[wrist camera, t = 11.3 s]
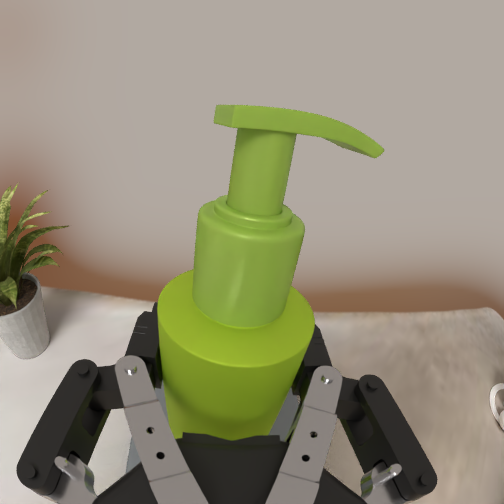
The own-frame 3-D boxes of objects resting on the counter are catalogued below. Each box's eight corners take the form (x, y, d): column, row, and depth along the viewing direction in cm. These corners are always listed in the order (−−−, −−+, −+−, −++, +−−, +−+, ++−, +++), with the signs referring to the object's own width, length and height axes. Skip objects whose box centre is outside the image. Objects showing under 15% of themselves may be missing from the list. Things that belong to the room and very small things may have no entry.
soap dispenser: (282, 465, 15) (435, 151, 7) (185, 488, 13) (181, 83, 4) (252, 404, 20) (324, 122, 11) (165, 418, 17) (160, 97, 9)
